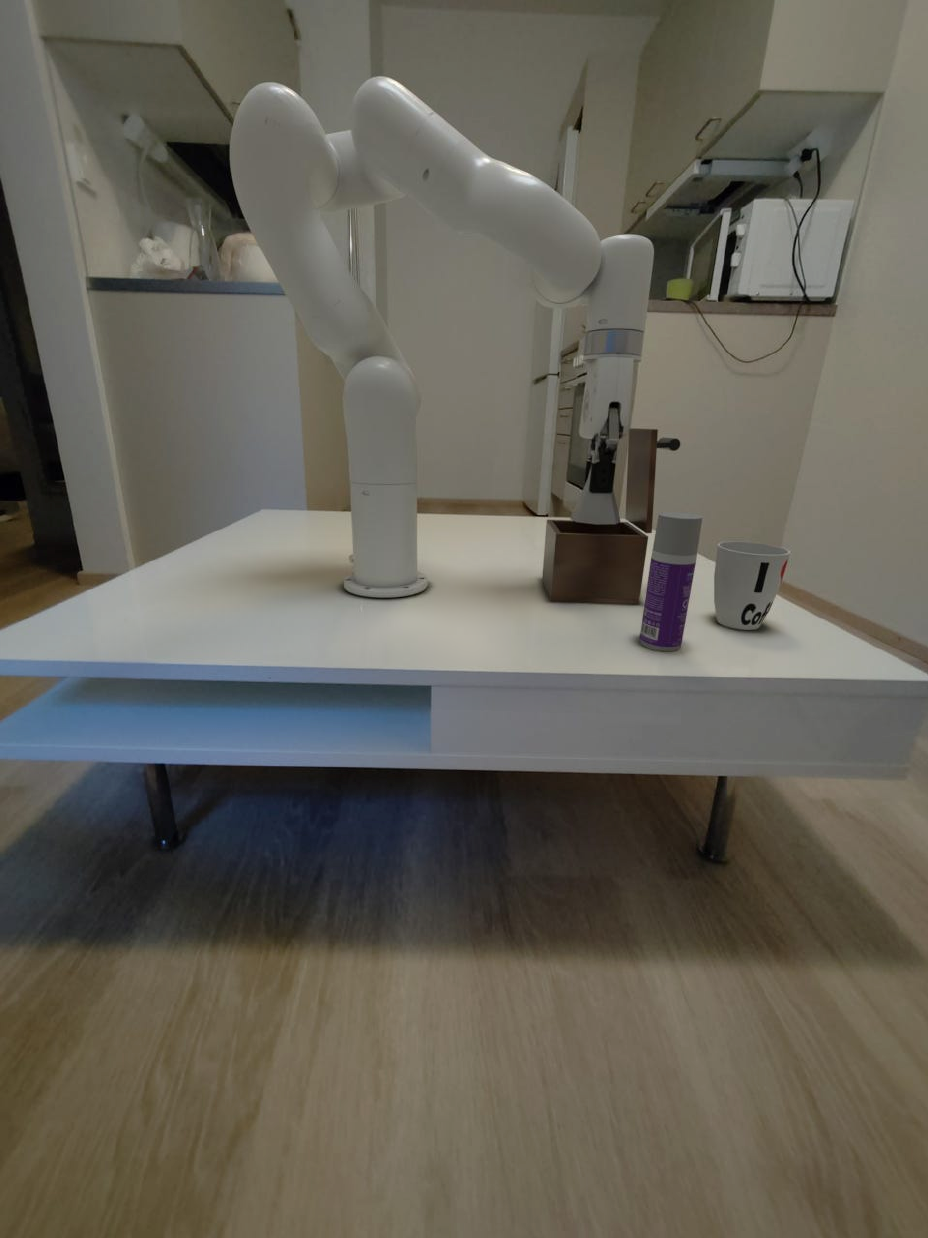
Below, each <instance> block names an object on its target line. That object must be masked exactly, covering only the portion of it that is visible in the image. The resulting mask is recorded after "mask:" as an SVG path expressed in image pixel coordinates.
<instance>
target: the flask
mask: <svg viewBox="0 0 928 1238" xmlns="http://www.w3.org/2000/svg"><path fill="white" fill-rule="evenodd" d="M591 455H592V463H594V457H595V450H591ZM591 465H592V464H591ZM590 475H591V469H590V472H589V476H588V479H587V482H586V484H585V486H584V485H583V488H582V490H581V493H580V496H579V498H578V499H577V502H576V504H575V506H574V509H573V511H572V513H571V515H570V518H569V520H573V521H575V522H580V523H587V524H594V525H606V524H617V523H619V522H621V517H620V513H619V509H618V505H617V501H616V496H615V491H614V490H613V491H612V493H591V492H590V491H589V485H590Z"/></svg>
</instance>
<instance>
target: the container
mask: <svg viewBox="0 0 928 1238" xmlns="http://www.w3.org/2000/svg"><path fill="white" fill-rule="evenodd" d="M702 522H703V516H702V515H700V514H695V513H688V512H681V511H680V512H679V511H663V512H659V513H658V517H657V522H656V528H655V534H654V540H653V545H652V551H651V557H650V563H649V569H648V570H649V571H648V576H647V584H646V592H645V597H644V604H643V610H642V611H643V612H642V619H641V624H640V625H641V626H640V631H639V641H638V642H639V643H640V645H642V646H643V647H645V648H647V649H650V650H653V651H659V652H676V651H679V650H681V648H682V644H683V639H684V632H685V628H686V622H687V621H686V620H687V615H688V609H689V604H690V598H691V593H692V588H693V587H692V586H693V582H694V576H695V569H696V565H697V557H698V550H699V543H700V536H701V531H702V524H703V523H702Z"/></svg>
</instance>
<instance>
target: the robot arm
mask: <svg viewBox="0 0 928 1238" xmlns="http://www.w3.org/2000/svg"><path fill="white" fill-rule="evenodd" d="M349 113H350V114H349V129H347V130H343V131H338V132H332V133H326V132H325V130H324V128H323V127H322V124H321V122H320V120H319V118H318V117H317V115H316V113H315V111H314V110H313V109H312V108H311V106H310V105H309V103H307V102H306V101H305V99H303V97H301V96H300V95H299V94H298V93H297V92H296V91H294V90H293V89H291V88H290V87H288V86H286V85H284V84H281V83H279V82H274V81H271V82H270V81H269V82H262V83H258V84H257V85H255V86H254V87H253V88H251V89H250V90H249V91H248V92H247V93H246V94H245V96H244V97H243V99H242V100H241V102H240V104H239V106H238V108H237V111H236V113H235V116H234V119H233V122H232V127H231V134H230V140H229V166H230V173H231V175H230V176H231V179H232V185H233V189H234V192H235V196H236V200H237V202H238V205H239V207H240V210H241V213H242V215H243V217H244V220H245V222H246V225H247V227H248V228H249V230H250V232H251V235H252V236H253V238H254V241H255V242H256V244H257V246H258V248H259V249H260V250H261V253H262V254H263V256H264V258H265V260H266V261H267V263H268V264H269V267H270V268H271V271H272V273H273V274H274V276H275V279H276V280H277V282H278V284H279V286H280V288H281V289H282V291H283V292H284V295H285V296H286V298H287V300H288V301H289V303H290V305H291V306H292V308H293V310H294V311H295V313H296V315H297V317H298V319H299V321H300V323H301V325H302V327H303V329H304V330H305V332H306V335H307V336H308V338H309V340H310V341H311V343H312V344H313V345H314V346H315V347H316V349H318V350H319V351H320V352H322V353H323V354H325V355H326V356H329V358H330V360H331V361H332V363H333V364H334V366H335V368H336V369H337V372H338V373H339V375H340V377H341V378H342V380H343V382H344V385H343V390H342V413H343V420H344V421H343V422H344V428H345V436H346V446H347V459H348V460H347V461H348V478H349V479H348V480H349V493H350V494H349V495H350V496H349V497H350V517H351V538H352V539H351V541H352V542H351V543H352V554H350V555H349V556H348V561H349V563H351V564H353V572H352V573H350V574H348V575H347V576H345V577H344V578H343V588H344V590H346V591H347V592H349V593H351V594H353V595H356V596H361V597H367V598H377V599H378V598H379V599H380V598H382V599H383V598H385V599H386V598H400V597H407V596H412V595H416V594H419V593H421V592H423V591H425V590H426V589H427V587H428V583H429V582H428V578H427V576H426V575H424V574H423V573H421V572H418V459H417V455H418V454H417V451H418V449H417V416H418V415H419V412H420V409H421V403H422V397H421V396H422V395H421V389H420V386H419V384H418V382H417V379H416V377H415V376H414V373H413V372H412V370H411V368H410V367H409V365H408V363H407V362H406V359H405V358H404V356H403V354H402V352H401V350H400V349H399V346H398V345H397V343H396V340H395V339H394V337H393V336H392V334H391V332H390V330H389V328H388V326H387V324H386V323H385V321H384V318H383V317H382V315H381V314H380V312H379V310H378V308H377V306H376V305H375V304H374V302H373V301H372V299H371V298H370V297H369V296H368V294H367V293H366V292H365V291H364V290H363V288H362V287H361V286H360V285H359V284H358V282H357V281H356V279H355V278H354V276H353V274H352V273H351V271H350V269H349V268H348V266H347V264H346V262H345V261H344V259H343V257H342V255H341V253H340V252H339V250H338V248H337V246H336V244H335V242H334V240H333V237H332V235H331V234H330V231H329V230H328V228H327V226H326V225H325V223H324V221H323V219H322V217H321V214H322V215H323V214H329V213H337V212H343V211H347V210H354V209H360V208H364V207H370V206H375V205H380V204H384V203H390V202H393V201H396V200H399V199H402V198H405V197H407V198H408V199H410V200H411V201H412V202H414V203H415V204H416V205H417V206H418V207H420V208H421V209H422V210H423V211H425V212H426V213H428V215H430V216H431V217H432V218H433V219H435V221H437V222H438V223H440V224H441V225H442V226H443V227H444V228H445V229H447V230H449V231H451V232H453V233H456V234H459V235H477V236H480V237H481V236H482V237H483V238H486V239H488V240H491V241H492V242H495V243H496V244H498V245H500V246H501V247H502V248H504V249H506V250H507V251H508V252H510V253H511V254H512V255H514V256H515V257H516V258H517V259H519V260H520V261H521V262H522V263H524V264H525V265H526V266H528V267H529V272H528V287H529V291H530V293H531V296H532V297H533V298H534V300H535V301H536V302H537V303H538V304H539V305H541V306H543V307H546V308H548V309H553V310H554V309H556V310H559V309H567V308H573V307H574V308H575V307H583V306H587V310H586V311H587V312H586V321H585V322H586V323H585V331H584V332H585V334H584V345H583V355H582V362H583V363H588V367H587V372H586V377H585V381H584V390H583V398H582V405H581V412H580V413H581V414H580V420H579V428H578V435H579V436H580V438H583V439H586V440H587V439H588V447H587V456H586V457H587V459H586V461H585V471H584V473H585V474H584V481H583V487H584V486H585V484H586V482H587V479H588V476H589V472H590V469H591V475H590V485H589V491H590V492H591V493H612V491H614V484H615V483H614V482H615V475H616V467H617V463H616V462H617V455H618V445H619V440H622V439H623V438H624V437H625V436H626V435H627V432H628V425H629V421H630V412H631V401H632V393H633V382H634V381H633V378H634V364H638V363H641V362H642V354H643V347H644V339H645V333H646V332H645V330H646V325H647V324H646V322H647V316H648V315H647V313H648V307H649V299H650V289H651V282H652V274H653V267H654V258H655V249H654V244H653V243H652V241H651V240H650V239H649V238H648V237H645V236H643V235H640V234H631V233H630V234H629V233H626V234H617V235H612V236H609V237H606V238H603V239H602V240H601V239H600V236H599V234H598V232H597V229H595V227H594V225H593V224H592V223H591V221H589V219H588V218H587V217H586V216H585V215H584V214H583V213H582V212H581V211H580V210H578V209H577V208H576V206H574V205H573V204H571V203H570V202H569V201H568V200H567V199H566V198H564V196H562V195H561V194H560V193H558V192H557V191H556V190H555V189H553V188H552V187H551V186H550V185H549V184H547V183H545V181H543V180H542V179H540V178H538V177H537V176H534V175H533V174H531V173H529V172H526V171H524V170H522V169H519V168H518V167H515V166H512V165H510V164H509V163H506V162H504V161H501V160H498V159H495V158H493V157H491V156H489V155H488V154H486V153H485V152H484V151H482V150H481V149H480V148H479V147H477V146H476V145H475V144H474V143H473V142H472V141H471V140H469V139H468V138H467V137H466V136H464V135H463V134H462V133H461V132H460V131H458V130H457V129H456V128H455V127H454V126H452V125H451V124H450V123H448V121H447V120H445V119H444V118H443V117H442V116H440V115H439V114H438V113H437V112H436V111H435V110H434V109H432V108H431V107H430V106H429V105H427V104H426V103H425V102H424V101H423V100H422V99H420V98H419V97H418V96H417V95H415V94H414V93H413V92H412V91H411V90H409V89H408V88H407V87H406V86H404V85H403V84H402V83H400V82H398V81H396V79H393V78H391V77H388V76H381V75H378V76H377V75H376V76H373V77H371V78H368V79H367V80H365V81H364V82H363V83H362V85H361V86H360V87H359V88H358V90H356V93H355V95H354V97H353V100H352V103H351V108H350V112H349ZM591 450H595V457H594V463H592V455H591ZM591 464H592V465H591Z"/></svg>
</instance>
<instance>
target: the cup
mask: <svg viewBox="0 0 928 1238" xmlns="http://www.w3.org/2000/svg"><path fill="white" fill-rule="evenodd" d="M790 555H791V551H790V550H789V549H787V548H784V547H782V546H776V545H773V544H767V543H760V542H753V541H752V542H750V541H722V542H719V543H718V544H717V547H716V555H715V564H714V572H713V573H714V575H713V581H714V582H713V592H714V593H713V603H714V609H715V616H716V622H718V624H720V625H721V626H725V627H727V628H731V629H735V630H745V631H751V630H757V629H759V628H760V627H761V625H762V623H763V622H764V621H765V619H766V617H767V616H768V614H769V612H770V611H771V608H772V606H773V605H774V601H775V599H776V597H777V594H778V592H779V589H780V588H781V584H782V581H783V579H784V576H785V571H786V568H787V565H788V563H789V562H788V561H789V558H790Z"/></svg>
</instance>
